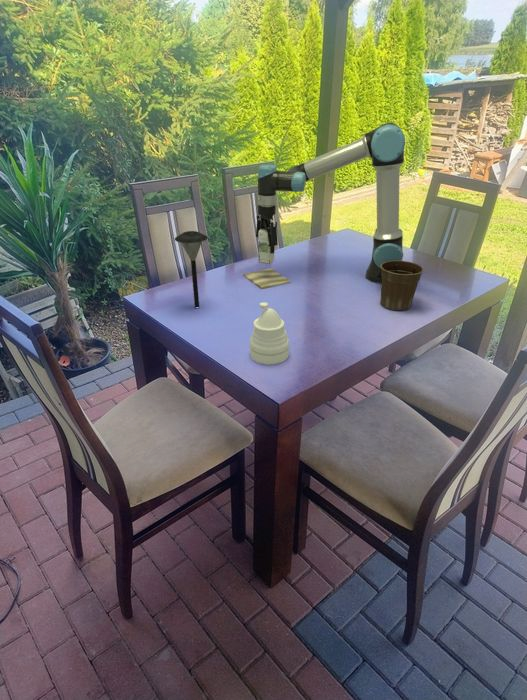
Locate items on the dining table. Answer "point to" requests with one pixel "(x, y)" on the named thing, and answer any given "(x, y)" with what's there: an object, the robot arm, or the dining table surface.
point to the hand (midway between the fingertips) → (266, 256)
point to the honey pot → (269, 338)
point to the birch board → (266, 278)
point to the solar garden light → (192, 254)
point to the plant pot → (399, 284)
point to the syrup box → (263, 246)
